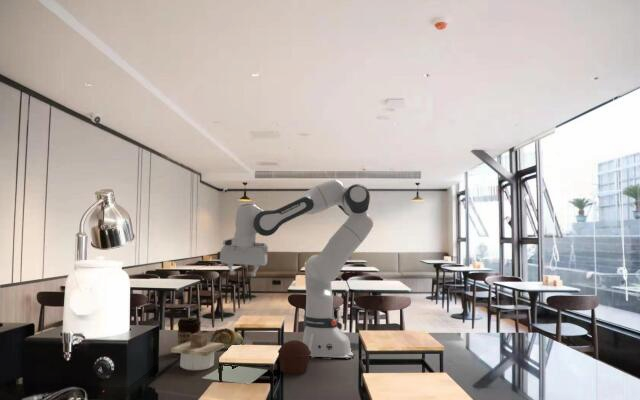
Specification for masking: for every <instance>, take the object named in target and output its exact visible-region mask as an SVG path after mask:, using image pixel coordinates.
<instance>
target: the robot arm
mask: <svg viewBox="0 0 640 400" xmlns="http://www.w3.org/2000/svg"><path fill="white" fill-rule="evenodd" d="M370 201H371V195H370V191H369V189H368V188H367V186H365V185H364V184H359V183H357V184H356V183H355V184H352V185H350V186H348V187H347V188H346V187H345V186H344V184H343V183H342V181H340V180H338V179H331V180H329V181H325V182H322V183H319V184H317V185H315V186H313V187H312V188H310V189H308V190H306V191H305V192H304V193H302V194H300V196H299V197H298V198H297V199H296V200H294V201H292V202H291V203H288V204H286V205H284V206H281V207H279V208H277V209H274V210H264V209H262V208H260V207H259V206H257V205H256V204H255V203H246V204H242V205H240V206H238V208H237V209H236V215H235V222H234V223H235V224H234V225H235V232H234V237H232V238H231V237H230V238H228V239H224V240H223V241H222V247H221V250H220V256H219V262H220V263H221V264H227V268H228V270H229V275H231V276H235V274H236V270H234V269H233V266H234V265H244V266H245V265H249V266H253V270H252V271H251V272H250V277H256V276H257V275H256V274H257V271H258V270H259V268H260V266H262V267H263V266H266V265H267V264H268V251H269V249H268V248H269V247H268V245H267V244H266V243H264V242H256V239H257V238H256V237H257V234H259V235H261V236H263V237H264V236H265V237H269V236H272V235H273V234H275V233H276V232H277V231H278V229H279V228H280V227H282V225H283V224H286V223H287V222H289V221H291V220H293V219H296V218H298V217H300V216H303V215H304V216H305V215H314V214H318V213H321V212H323V211H325V210H328V209H330V208H331V207H333V206H337V207H338V208H340V210H342V212H343V213H344V214H345V215H347V216H348V218H347V219H346V221H344V223H343V224H341V226H340V227H339V228H338V229H337V231H335V232H334V234H333V235H332V236H331V237H330V238H329V240H328V242H327V243H326V245H325V246H324V247H323V249H322V250H321V252H320V253H319V254H313V255H311V256H310V257H308V258H307V260H306V261H305V264H304V272H305V273H304V275H305V276H304V279H305V282H304V284H305V291H306V292H305V294H306V297H305V299H306V300H305V315H304V318H303V329H304V330H303V338H302V342H303V343H305V344H306V345H307V346H308V348H309V350H310V351H311V354H310V356H324V357H350V356H348V355H353V353H352V352H351V349H352V347H351V342H350V339H349V336H348V335H346V334H345V333H344V332H343V331H342V330H341V329H340V328H339V327H338V318H335V317H334V316H333V313H334V312H333V311H334V309H333V308H334V307H333V306H334V295H333V289H332V282H333V281H335V280H336V279H337V278H338V276H339V273H340V272H341V271H342V269H343V267H344V266H345V264H346V262H347V261H348V260H349V259H350V257H351V255H353V253H354V252H355V251H356V250H357V249H358V248H359V246H360V245H361V244H362V243H363V242H364V241H365V240H366V239H367V237H368V235H369V234H370V232H371V230H372V228H373V226H374V221H373V218H372V217H371V216H370V215H369V214H368V213H367V212H368V210H369V205H370Z"/></svg>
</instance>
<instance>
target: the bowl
mask: <svg viewBox="0 0 640 400" xmlns="http://www.w3.org/2000/svg"><path fill="white" fill-rule="evenodd" d="M215 353H216V352H214V353H212V354H210V355H208V356H200V355H191V354H183V353H181V354H180V361H179V367H180V368H181V369H184V370H185V371H186V370H187V371H204V370H207V369H208V370H209V369H210V368H212V367H213V366H215V365H214V364H215Z"/></svg>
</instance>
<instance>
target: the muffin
mask: <svg viewBox="0 0 640 400" xmlns="http://www.w3.org/2000/svg"><path fill="white" fill-rule="evenodd" d="M277 353H279V354H278V361H279V372H282V373H284V374H288V375H301V374H305V373H307V369H308V364H309V358H310V357H309V356H310V354H311V351H310V350H309V348H308V346H307V345H306V344H305V343H303V341H301V340H295V339H294V340H288V341H286V342H284V343H283V344H282V345H281V346H280V347H279V349H278V351H277Z"/></svg>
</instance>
